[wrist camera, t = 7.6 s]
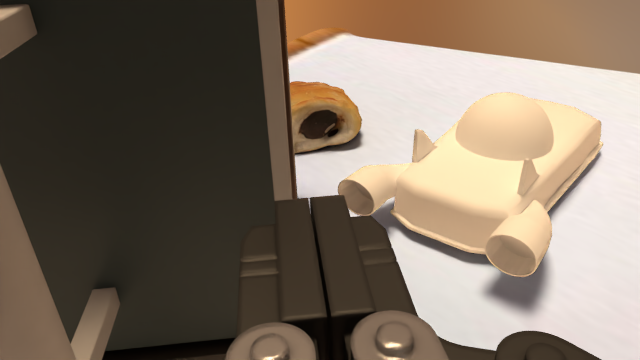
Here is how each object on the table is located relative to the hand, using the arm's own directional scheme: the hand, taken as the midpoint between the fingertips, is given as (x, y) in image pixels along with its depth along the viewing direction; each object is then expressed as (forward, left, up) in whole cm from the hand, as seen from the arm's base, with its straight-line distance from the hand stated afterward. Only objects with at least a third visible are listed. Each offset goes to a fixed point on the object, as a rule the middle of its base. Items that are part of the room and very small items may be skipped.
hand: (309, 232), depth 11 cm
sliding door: (+5, -3, -9) cm, 10 cm away
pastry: (-2, -27, -10) cm, 29 cm away
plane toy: (-13, -17, -10) cm, 24 cm away
